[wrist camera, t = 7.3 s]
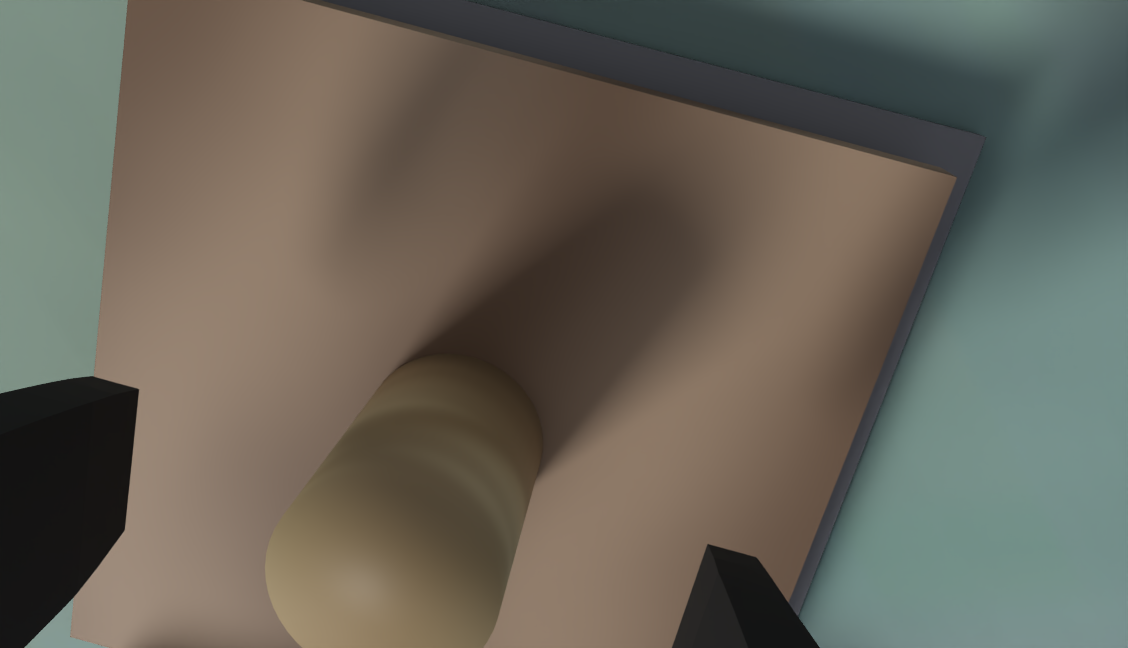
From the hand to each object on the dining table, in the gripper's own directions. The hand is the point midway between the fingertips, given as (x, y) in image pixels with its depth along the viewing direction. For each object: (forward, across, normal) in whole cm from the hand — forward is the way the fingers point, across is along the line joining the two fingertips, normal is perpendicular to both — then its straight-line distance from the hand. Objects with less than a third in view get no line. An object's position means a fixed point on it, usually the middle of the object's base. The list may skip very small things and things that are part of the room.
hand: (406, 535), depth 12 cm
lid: (+4, 0, 0) cm, 4 cm away
